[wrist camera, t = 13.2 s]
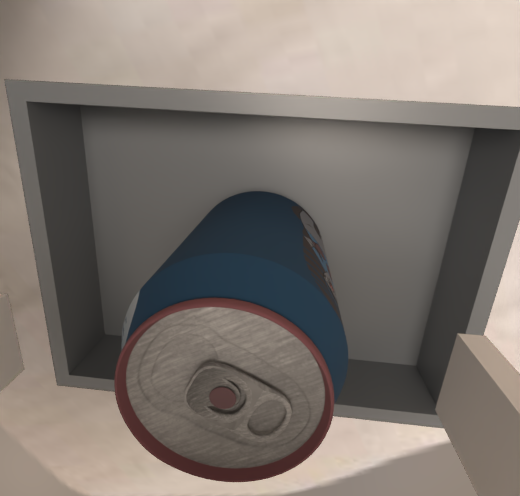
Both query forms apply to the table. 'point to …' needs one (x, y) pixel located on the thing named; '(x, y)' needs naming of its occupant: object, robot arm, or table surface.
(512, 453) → the robot arm
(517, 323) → the table surface
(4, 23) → the table surface
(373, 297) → the bin
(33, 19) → the table surface
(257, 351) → the soda can
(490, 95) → the table surface
